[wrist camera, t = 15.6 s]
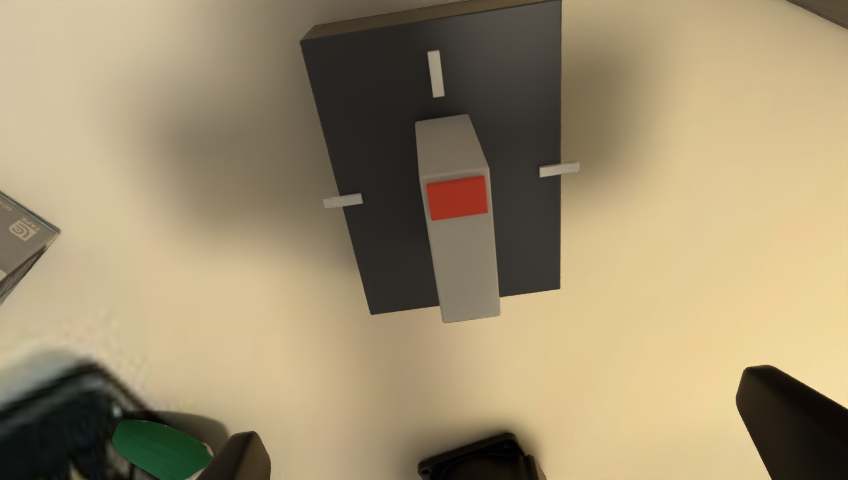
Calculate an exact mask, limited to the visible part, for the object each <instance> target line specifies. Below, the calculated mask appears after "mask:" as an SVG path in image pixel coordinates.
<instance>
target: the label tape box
mask: <svg viewBox="0 0 848 480" xmlns="http://www.w3.org/2000/svg"><path fill="white" fill-rule="evenodd" d="M57 236H58V234H57V232H56V231H54V230H53V229H51V228H50V227H49V226H47V225H46V224H44V223H43V222H42V221H40V220H39V219H38V218H36V217H35V216H33V215H32V214H30V213H29V212H27V211H26V210H25V209H23V208H22V207H20V206H19V205H18V204H16V203H14V202H13V201H11V200H10V199H8V198H7V197H5V196H3V195H2V194H0V304H1V303H2V302H3V301H4V300H5V298H6V297H7V296H8V295H9V293H10V292H11V291H12V290H13V289H14V287H15V286H16V285H17V284H18V283H19V281H20V280H21V279H22V278H23V277H24V276H25V275H26V273H27V272H28V271H29V270H30V269H31V267H32V266H33V265H34V264H35V263H36V261H37V260H38V259H39V258H40V257H41V255H42V254H43V253H44V252H45V251H46V250H47V248H48V247H49V246H50V244H51V243H52V242H53V241H54V240H55V238H56V237H57Z"/></svg>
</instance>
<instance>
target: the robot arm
mask: <svg viewBox="0 0 848 480" xmlns="http://www.w3.org/2000/svg"><path fill="white" fill-rule="evenodd" d="M736 405H737V409H738V411H739V413H740V415H741V418H742V420H743V422H744V424H745V426H746V428H747V430H748V432H749V434H750V436H751V438H752V440H753V442H754V444H755V446H756V448H757V450H758V452H759V455H760V457H761V459H762V461H763V463H764V465H765V467H766V469H767V471H768V473H769V475H770V477H771V479H772V480H848V409H847V408H845V407H843V406H842V405H840V404H838V403H836V402H835V401H833V400H831V399H830V398H828V397H826V396H824V395H823V394H821V393H819V392H817V391H816V390H814V389H812V388H810V387H809V386H807V385H805V384H804V383H802V382H800V381H798V380H797V379H795V378H793V377H791V376H790V375H788V374H786V373H785V372H783V371H781V370H779V369H778V368H776V367H774V366H771V365H760V366H753V367H747V368H746V369H745V370H744V371H743V374H742V377H741V381H740V384H739V387H738V391H737V394H736ZM270 473H271V462H270V457H269V455H268V453H267V451H266V449H265V447H264V445H263V443H262V441H261V439H260V437H259V435H258V434H257V433H256V432H254V431H249V432H242V433H236V434H234V435H232V436H231V437H230V438H229V439H228V441H227V442H226V443H225V444H224V445H223V447H222V448H221V449H220V450H219V451H218V453H217V454H216V455H215V456H214V458H213V459H212V460H211V461H210V462H209V464H208V465H207V466H206V467H205V469H204V470H203V471H202V472H201V473H200V475H199V476H198V477H197V478H196V479H195V480H270ZM418 474H419V475H420V476H421V478H422V479H423V480H547V479H546V476H545V475H544V473H543V471H542V470H541V468H540V466H539V465H538V463H537V462H536V460H535V458H534V457H533V456H531V455H527V454H526V453H525V451H524V449H523V448H522V446H521V445H520V443H519V441H518V440H517V438H516V437H515V435H514V434H511V433H505V434H502V435H499V436H496V437H493V438H490V439H487V440H484V441H481V442H478V443H476V444H473V445H470V446H467V447H464V448H461V449H458V450H455V451H452V452H449V453H446V454H443V455H440V456H437V457H434V458H431V459H429V460H426V461H423V462H421V463H419V464H418Z"/></svg>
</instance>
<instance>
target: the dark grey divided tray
mask: <svg viewBox="0 0 848 480" xmlns="http://www.w3.org/2000/svg"><path fill="white" fill-rule="evenodd" d="M788 1H790V2H792V3H794V4H796V5H798V6H801V7H803V8H805V9H807V10H809V11H811V12H813V13H815V14H817V15H819V16H822V17H824V18H826V19H828V20H830V21H832V22H834V23H836V24H838V25H841V26H843V27H845V28H847V29H848V0H788Z"/></svg>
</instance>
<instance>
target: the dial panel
mask: <svg viewBox="0 0 848 480" xmlns="http://www.w3.org/2000/svg"><path fill="white" fill-rule="evenodd" d="M561 18H562V0H469V1H463V2H457V3H451V4H445V5H438V6H432V7H426V8H420V9H414V10H408V11H401V12H395V13H389V14H383V15H377V16H371V17H364V18H358V19H352V20H346V21H340V22H334V23H328V24H321V25H315V26H314V27H313V28H312V29H311V30H310V31H309V32H308V33H307V34H306V35H305V36H304V37H303V38H302V39H301V40H300V45H301V49H302V53H303V57H304V61H305V65H306V69H307V72H308V76H309V80H310V84H311V88H312V92H313V95H314V99H315V103H316V107H317V111H318V115H319V118H320V122H321V126H322V130H323V134H324V138H325V141H326V145H327V149H328V153H329V157H330V161H331V164H332V168H333V172H334V176H335V180H336V184H337V187H338V191H339V195H340V196H337V197H330V198H324V199H323V204H324V207H325V209H328V208H335V207H341V206H342V207H343V211H344V214H345V218H346V222H347V226H348V230H349V234H350V237H351V241H352V245H353V249H354V253H355V257H356V260H357V264H358V268H359V272H360V276H361V280H362V283H363V287H364V291H365V295H366V299H367V303H368V306H369V310H370V314H371V315H375V314H382V313H389V312H397V311H404V310H411V309H418V308H426V307H433V306H440V303H439V297H438V291H437V285H436V278H435V272H434V266H433V260H432V254H431V247H430V241H429V235H428V229H427V223H426V216H425V210H424V204H423V198H422V192H421V186H420V179H419V167H418V155H417V142H416V130H415V123H416V122H417V121H424V120H430V119H437V118H443V117H450V116H456V115H463V114H468V115H469V118H470V120H471V123H472V125H473V128H474V130H475V133H476V136H477V138H478V141H479V143H480V146H481V149H482V151H483V154H484V156H485V159H486V162H487V164H488V167H489V173H490V186H491V198H492V211H493V224H494V236H495V249H496V262H497V274H498V287H499V297H505V296H513V295H520V294H527V293H534V292H541V291H549V290H556V289H560V243H561V174H566V173H572V172H579V166H580V162H579V161H573V162H567V163H561Z"/></svg>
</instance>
